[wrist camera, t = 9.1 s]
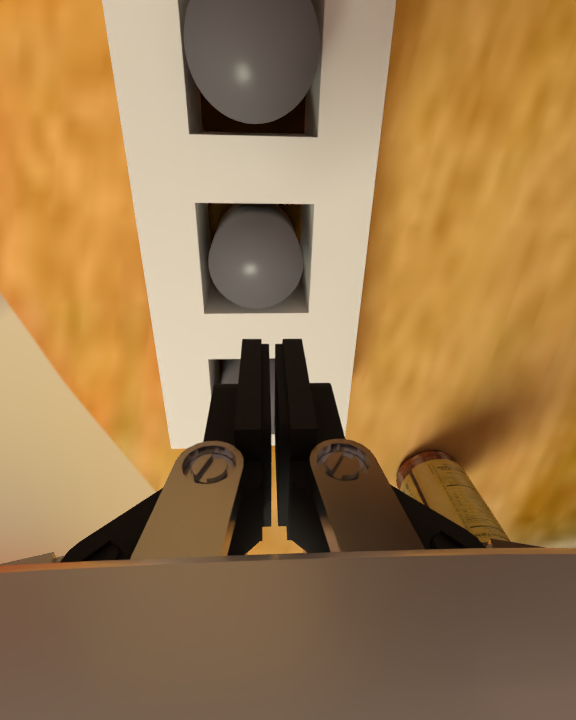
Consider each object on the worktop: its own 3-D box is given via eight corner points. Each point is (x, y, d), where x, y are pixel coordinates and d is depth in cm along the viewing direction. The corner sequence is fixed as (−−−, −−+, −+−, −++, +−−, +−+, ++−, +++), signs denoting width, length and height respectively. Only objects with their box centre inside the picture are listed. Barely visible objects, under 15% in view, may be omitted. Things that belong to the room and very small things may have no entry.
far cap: (291, 329, 30) (298, 369, 25) (290, 387, 33) (296, 432, 28) (222, 330, 30) (216, 370, 25) (225, 388, 32) (221, 434, 28)
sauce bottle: (422, 502, 42) (538, 766, 25) (380, 476, 40) (476, 746, 23) (473, 463, 40) (640, 724, 23) (432, 433, 37) (583, 697, 20)
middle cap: (295, 198, 26) (305, 216, 21) (293, 276, 28) (301, 308, 23) (214, 197, 25) (204, 215, 21) (219, 276, 28) (211, 309, 23)
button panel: (367, -19, 22) (403, -63, 16) (330, 394, 34) (344, 443, 29) (130, -31, 21) (89, -82, 15) (183, 398, 34) (171, 448, 28)
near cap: (306, -1, 19) (324, -42, 14) (302, 124, 22) (316, 125, 17) (196, -7, 19) (176, -50, 14) (204, 122, 21) (190, 122, 16)
